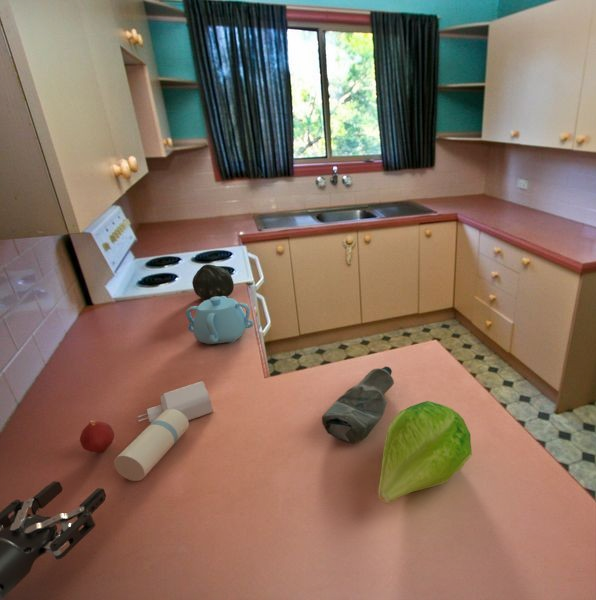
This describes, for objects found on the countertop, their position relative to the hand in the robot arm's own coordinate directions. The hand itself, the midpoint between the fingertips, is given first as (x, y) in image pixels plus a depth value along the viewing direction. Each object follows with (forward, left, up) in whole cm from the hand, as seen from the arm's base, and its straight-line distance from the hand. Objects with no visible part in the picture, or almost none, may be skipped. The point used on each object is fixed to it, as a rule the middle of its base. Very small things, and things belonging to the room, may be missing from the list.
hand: (81, 488), depth 70 cm
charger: (-6, +29, -9) cm, 31 cm away
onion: (-14, +16, -9) cm, 23 cm away
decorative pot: (-18, +67, -9) cm, 70 cm away
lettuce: (+54, +20, -9) cm, 58 cm away
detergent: (+38, +38, -9) cm, 54 cm away
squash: (-40, +96, -9) cm, 105 cm away
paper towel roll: (-1, +10, -6) cm, 12 cm away
